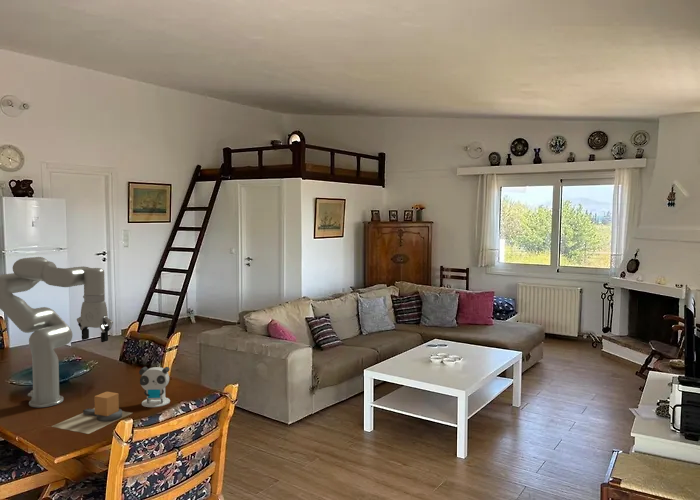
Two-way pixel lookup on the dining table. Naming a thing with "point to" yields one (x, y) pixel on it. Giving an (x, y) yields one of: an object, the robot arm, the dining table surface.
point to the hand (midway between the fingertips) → (94, 340)
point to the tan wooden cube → (106, 403)
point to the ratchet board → (90, 421)
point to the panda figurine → (154, 386)
